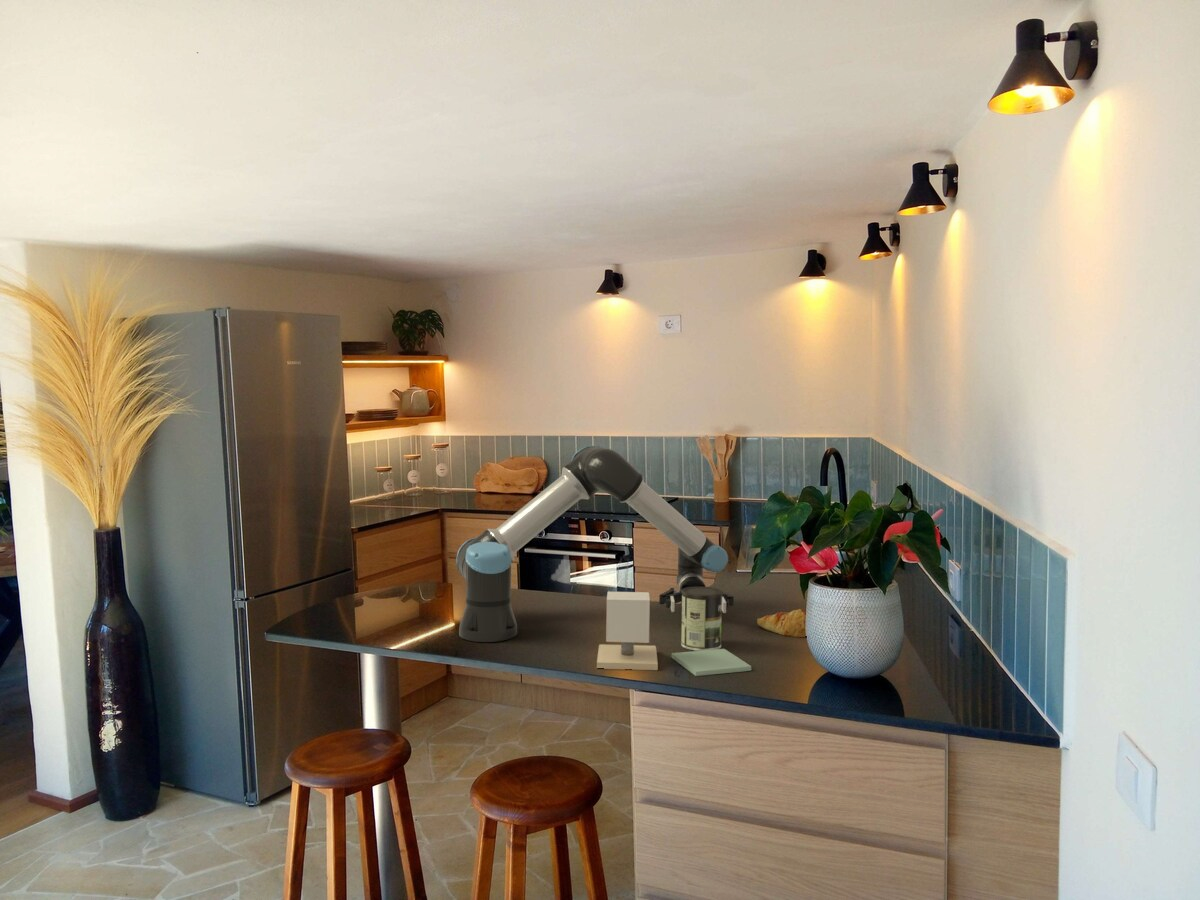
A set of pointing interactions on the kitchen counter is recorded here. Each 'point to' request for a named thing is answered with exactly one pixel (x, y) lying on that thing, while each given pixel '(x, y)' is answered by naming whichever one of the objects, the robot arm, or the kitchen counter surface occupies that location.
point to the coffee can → (701, 618)
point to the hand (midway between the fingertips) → (698, 607)
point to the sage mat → (710, 662)
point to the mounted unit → (627, 633)
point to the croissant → (785, 623)
